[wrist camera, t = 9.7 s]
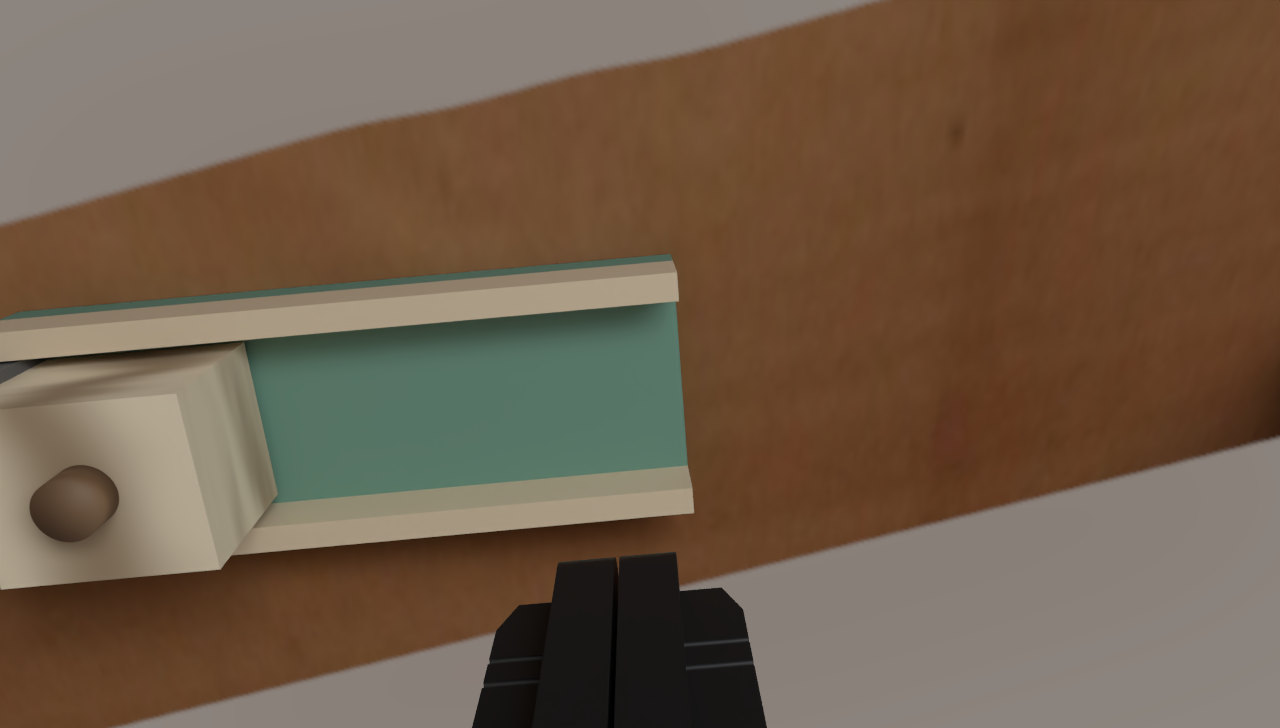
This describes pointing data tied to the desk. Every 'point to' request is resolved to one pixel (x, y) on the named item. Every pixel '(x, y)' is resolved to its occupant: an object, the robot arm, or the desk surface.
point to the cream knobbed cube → (129, 465)
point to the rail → (433, 395)
